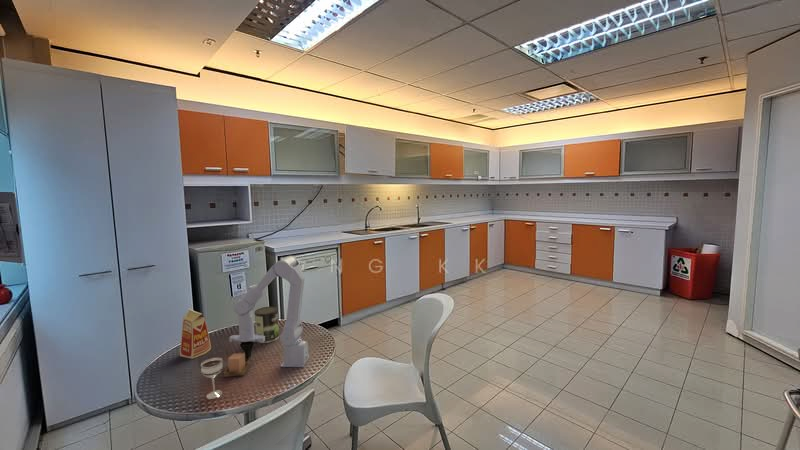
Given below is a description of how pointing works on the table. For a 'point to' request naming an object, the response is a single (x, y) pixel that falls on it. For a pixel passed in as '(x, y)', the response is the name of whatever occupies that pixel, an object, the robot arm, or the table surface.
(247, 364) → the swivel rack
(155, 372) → the table surface
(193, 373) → the table surface
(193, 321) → the milk carton
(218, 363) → the wineglass
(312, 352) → the table surface
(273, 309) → the coffee can
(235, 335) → the robot arm
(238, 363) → the block
